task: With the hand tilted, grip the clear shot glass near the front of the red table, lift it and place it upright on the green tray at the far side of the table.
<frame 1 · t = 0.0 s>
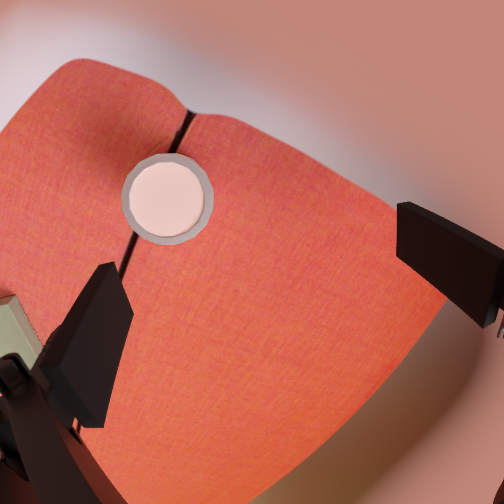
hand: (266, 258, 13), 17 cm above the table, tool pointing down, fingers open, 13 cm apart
green tray: (11, 341, 31), on the table
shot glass: (175, 183, 28), on the table
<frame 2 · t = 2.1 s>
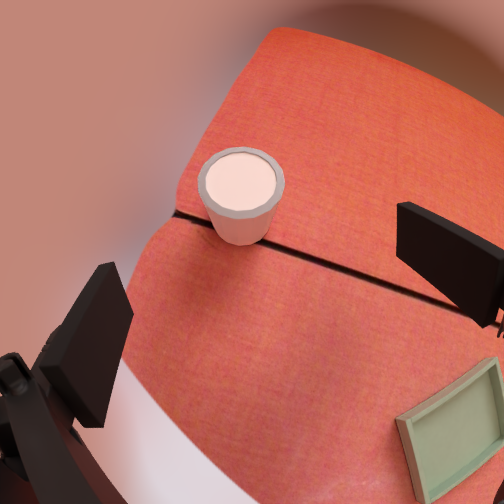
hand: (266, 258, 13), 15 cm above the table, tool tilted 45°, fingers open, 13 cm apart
green tray: (456, 430, 23), on the table
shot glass: (241, 219, 30), on the table
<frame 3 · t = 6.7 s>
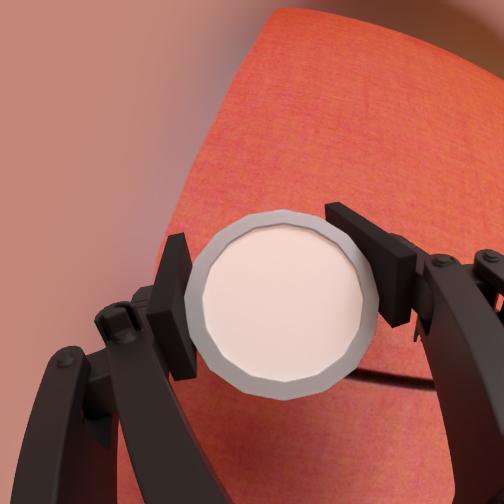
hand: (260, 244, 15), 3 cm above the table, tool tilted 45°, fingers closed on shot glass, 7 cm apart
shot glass: (273, 327, 17), on the table, touching gripper
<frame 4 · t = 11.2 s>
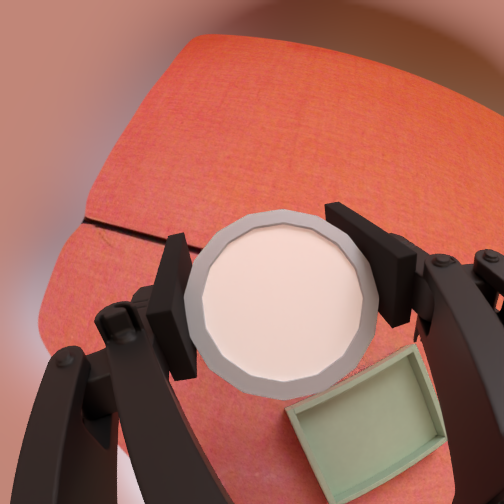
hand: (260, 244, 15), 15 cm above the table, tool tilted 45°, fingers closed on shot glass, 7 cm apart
green tray: (370, 426, 24), on the table
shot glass: (273, 327, 17), point 11 cm above the table, touching gripper
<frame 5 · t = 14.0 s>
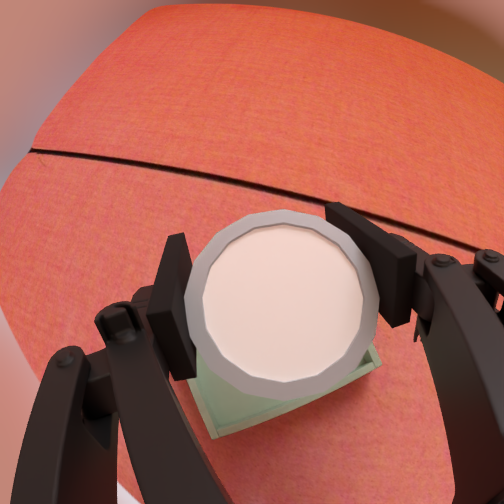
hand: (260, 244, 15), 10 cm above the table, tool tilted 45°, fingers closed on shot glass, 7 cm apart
green tray: (268, 337, 23), on the table
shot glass: (273, 327, 17), point 7 cm above the table, touching gripper
when the fingers open (4 cm above the table, at t = 16.1 s): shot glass stays where it is, resting on green tray.
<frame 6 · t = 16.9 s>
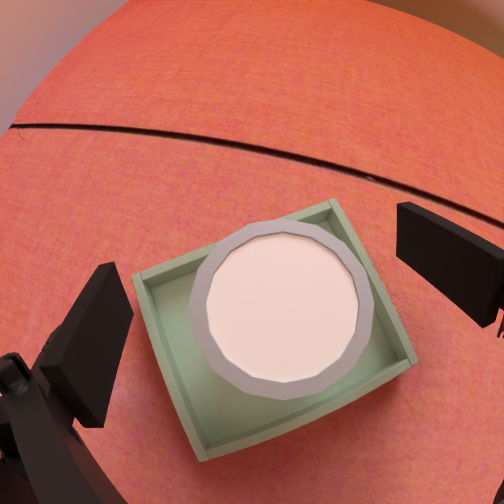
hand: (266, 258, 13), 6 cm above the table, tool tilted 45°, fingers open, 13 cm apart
green tray: (273, 329, 18), on the table
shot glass: (273, 329, 18), resting on green tray
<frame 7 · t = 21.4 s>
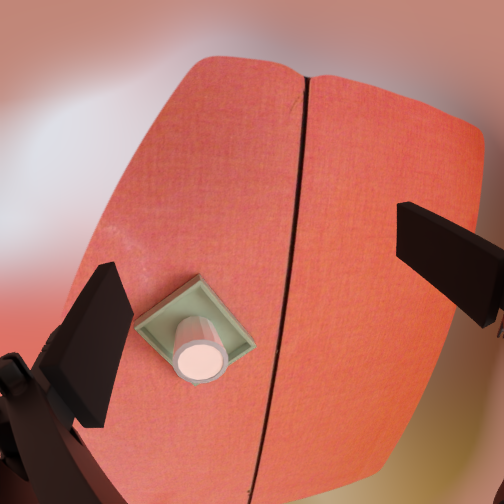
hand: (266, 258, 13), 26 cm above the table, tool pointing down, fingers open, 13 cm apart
green tray: (195, 330, 42), on the table
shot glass: (195, 332, 42), resting on green tray
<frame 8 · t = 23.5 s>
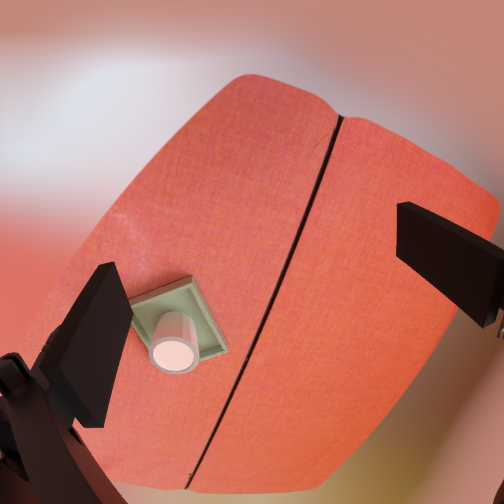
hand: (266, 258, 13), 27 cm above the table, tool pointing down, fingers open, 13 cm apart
green tray: (177, 323, 45), on the table
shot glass: (176, 325, 45), resting on green tray
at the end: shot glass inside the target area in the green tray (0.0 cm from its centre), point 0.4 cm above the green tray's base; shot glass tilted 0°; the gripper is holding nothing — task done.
